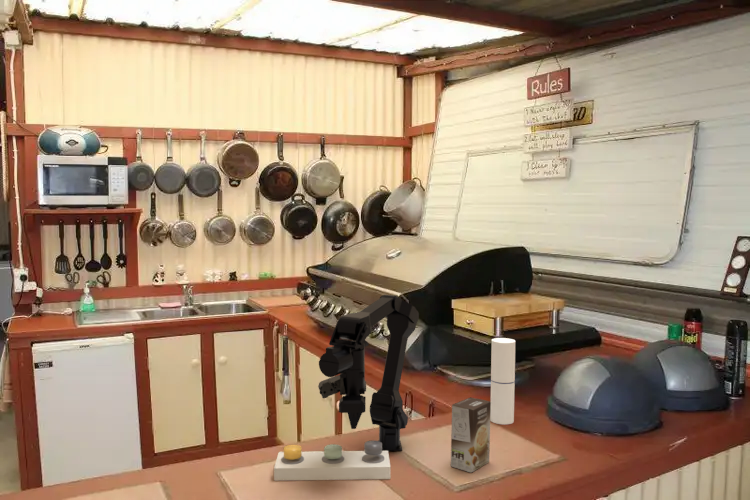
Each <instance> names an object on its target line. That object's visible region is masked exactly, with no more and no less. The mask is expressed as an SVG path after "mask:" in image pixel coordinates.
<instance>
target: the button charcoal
mask: <svg viewBox="0 0 750 500" xmlns="http://www.w3.org/2000/svg"><path fill="white" fill-rule="evenodd" d="M363 446H364V448H363V449H364V450H363V451H364V452H365V453H366V454H368V455H379V454H381V453H382V443H381V442H379V441H378V440H367V441H365V442H364V445H363Z"/></svg>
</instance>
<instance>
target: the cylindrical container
mask: <svg viewBox="0 0 750 500" xmlns="http://www.w3.org/2000/svg"><path fill="white" fill-rule="evenodd" d="M490 350H491V354H490V355H491V358H490V359H491V360H490V361H491V363H490V364H491V365H490V402H491V412H490V422H492V423H494V424H497V425H511V424H513V423H514V422H515V387H516V386H515V383H516V382H515V381H516V380H515V378H516V374H515V373H516V340H515V339H513V338H508V337H507V338H506V337H495V338H492V339H491V349H490Z"/></svg>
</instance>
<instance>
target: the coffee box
mask: <svg viewBox="0 0 750 500" xmlns="http://www.w3.org/2000/svg"><path fill="white" fill-rule="evenodd" d="M490 412H491V400H489V401H488V400H486V399H482V398H476V397H475V398H474V397H468V398H465V399H462V400H461V401H458V402H456V403H452V404H451V435H450V436H451V437H450V438H451V439H450V440H451V442H450V443H451V444H450V445H451V446H450V447H451V448H450V467H452V468H455V469H458V470H461V471H464V472H467V473H473V472H475V471H477V470H478V469H480V468H482V467H483V466H485V465H487V464H488V463H489V462H490V449H491V447H490V446H491V445H490V444H491V443H490V442H491V441H490V440H491V420H490Z"/></svg>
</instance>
